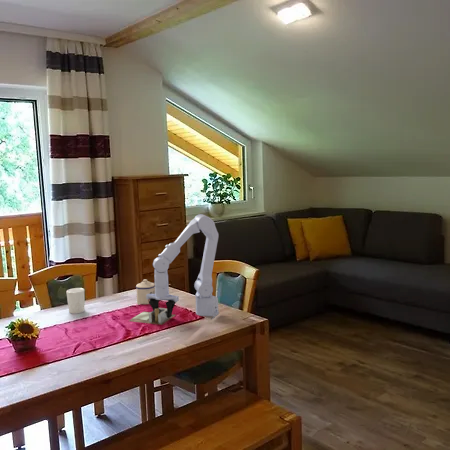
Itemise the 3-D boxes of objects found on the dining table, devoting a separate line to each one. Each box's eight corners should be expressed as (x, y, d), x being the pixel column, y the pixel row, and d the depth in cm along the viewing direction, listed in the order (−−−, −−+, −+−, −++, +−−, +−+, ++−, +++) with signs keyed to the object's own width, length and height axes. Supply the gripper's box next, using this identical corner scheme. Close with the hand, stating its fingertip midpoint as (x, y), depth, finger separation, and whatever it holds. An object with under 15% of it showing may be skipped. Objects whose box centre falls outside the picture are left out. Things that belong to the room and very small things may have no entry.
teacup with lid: (151, 306, 230) (150, 282, 229) (133, 305, 233) (132, 281, 231) (161, 299, 242) (160, 276, 240) (143, 298, 244) (142, 275, 243)
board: (176, 316, 215) (175, 302, 214) (162, 327, 203) (161, 311, 202) (144, 313, 221) (143, 299, 220) (128, 323, 209) (127, 308, 208)
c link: (158, 316, 213) (157, 307, 212) (170, 317, 211) (169, 308, 210) (149, 322, 205) (148, 313, 205) (161, 323, 203) (160, 314, 203)
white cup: (88, 308, 230) (86, 287, 229) (81, 314, 223) (80, 292, 221) (72, 308, 231) (70, 287, 230) (65, 314, 223) (63, 292, 222)
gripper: (141, 286, 208) (143, 317, 210) (172, 289, 203) (174, 321, 205) (150, 282, 214) (151, 312, 216) (180, 284, 209) (181, 315, 211)
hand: (163, 316), depth 211 cm, fingers closed on c link, 6 cm apart
